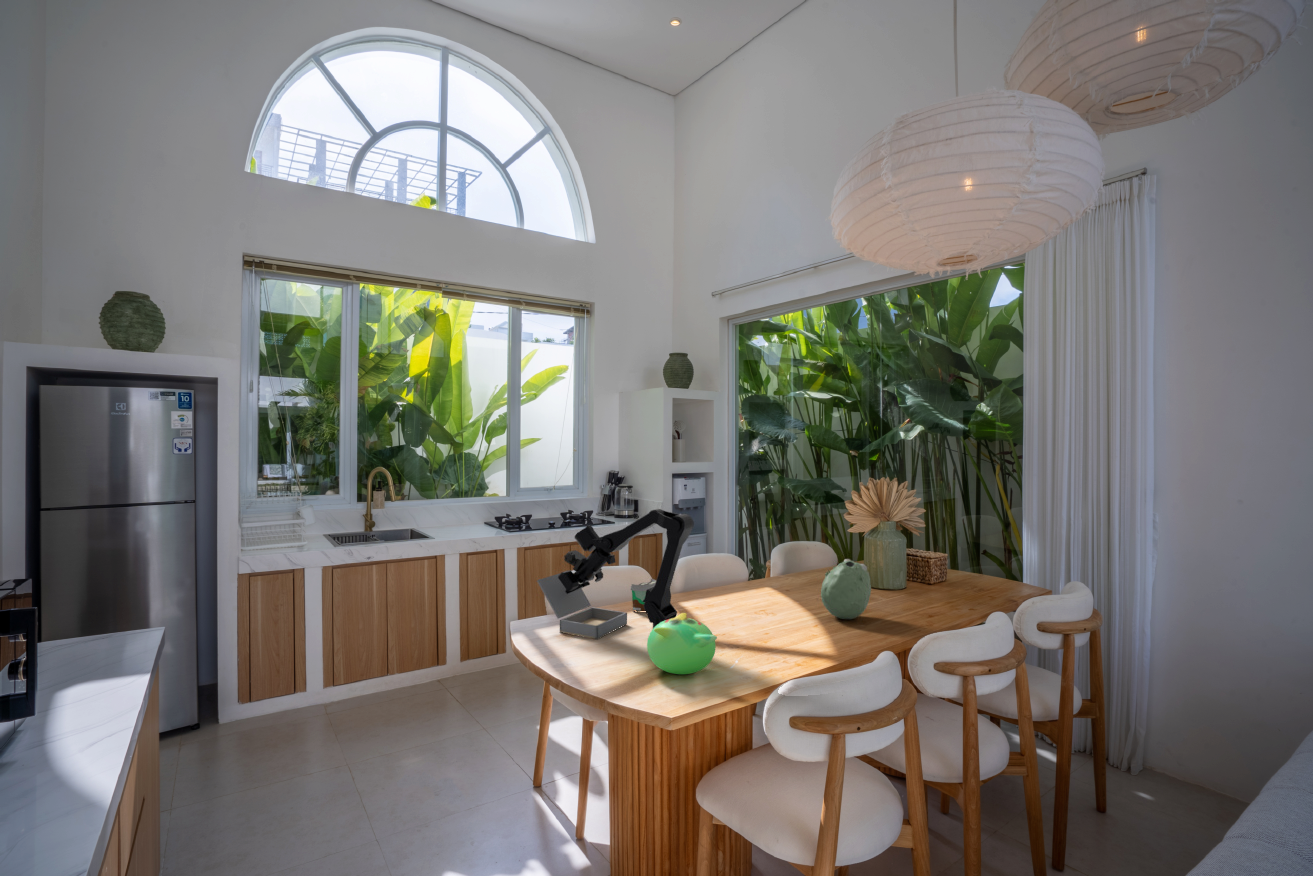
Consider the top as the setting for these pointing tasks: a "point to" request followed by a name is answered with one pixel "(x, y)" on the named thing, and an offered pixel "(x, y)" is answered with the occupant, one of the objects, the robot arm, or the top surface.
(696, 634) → the toy bird
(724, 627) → the top surface
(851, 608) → the green avocado
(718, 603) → the top surface
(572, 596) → the mailer lid
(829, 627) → the top surface
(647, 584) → the food container
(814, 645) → the top surface
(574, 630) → the box
